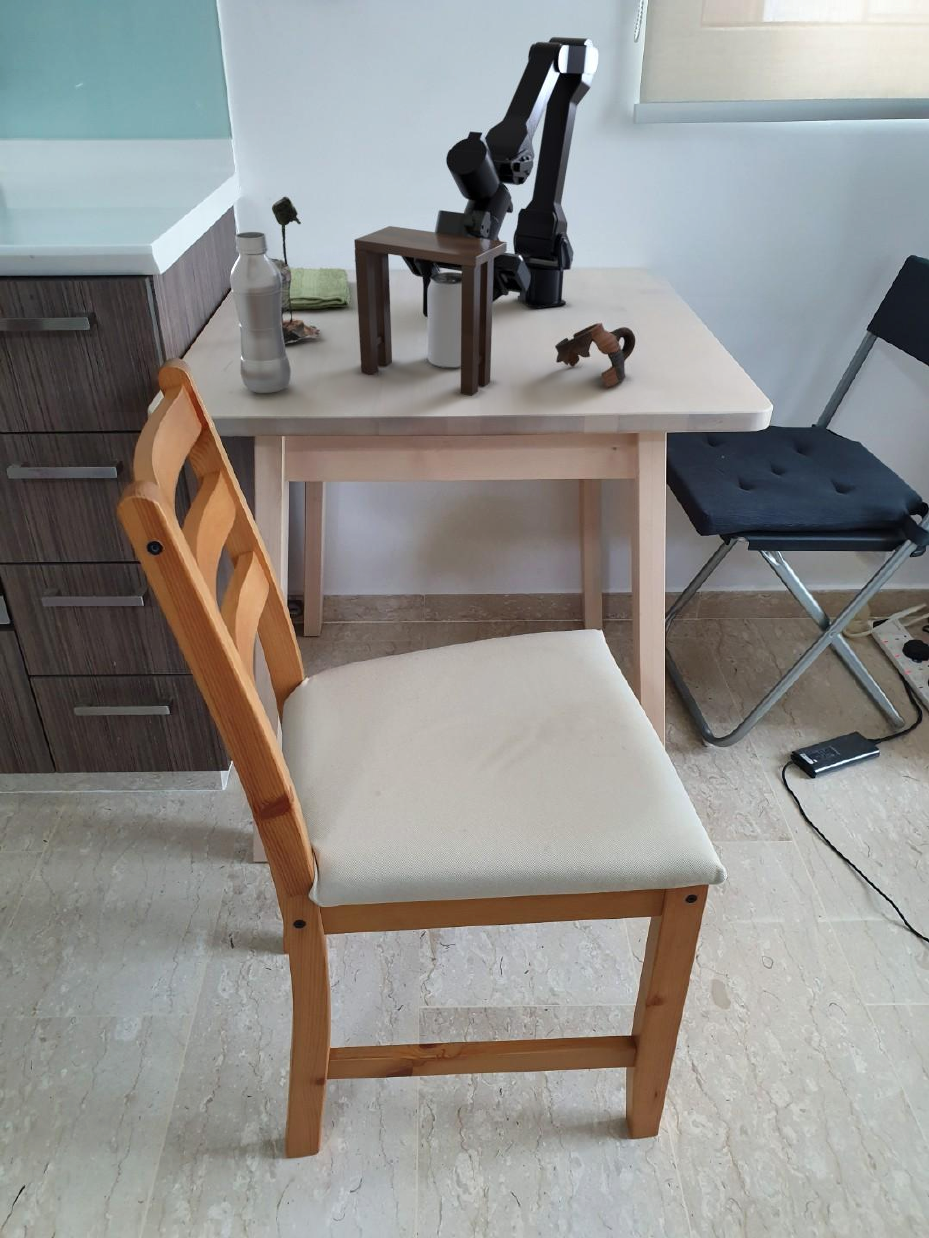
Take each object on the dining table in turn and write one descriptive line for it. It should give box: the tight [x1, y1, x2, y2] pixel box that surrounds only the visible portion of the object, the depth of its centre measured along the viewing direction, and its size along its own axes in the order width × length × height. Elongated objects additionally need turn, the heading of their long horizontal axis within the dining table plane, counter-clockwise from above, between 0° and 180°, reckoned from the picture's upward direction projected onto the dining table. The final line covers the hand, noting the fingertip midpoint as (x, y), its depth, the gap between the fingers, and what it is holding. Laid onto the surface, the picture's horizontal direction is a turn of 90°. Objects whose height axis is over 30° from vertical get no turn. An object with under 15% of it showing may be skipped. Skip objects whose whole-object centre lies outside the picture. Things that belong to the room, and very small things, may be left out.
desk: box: [354, 225, 508, 397], centre depth 127 cm, size 9×18×18 cm, turn 62°
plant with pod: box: [269, 196, 320, 344], centre depth 137 cm, size 8×11×20 cm
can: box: [427, 271, 462, 369], centre depth 132 cm, size 6×6×12 cm
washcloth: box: [287, 266, 351, 311], centre depth 161 cm, size 13×18×3 cm
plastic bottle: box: [229, 231, 292, 394], centre depth 120 cm, size 6×7×20 cm
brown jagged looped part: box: [554, 322, 636, 389], centre depth 131 cm, size 12×10×8 cm
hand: (445, 319), depth 131 cm, fingers closed on can, 6 cm apart
